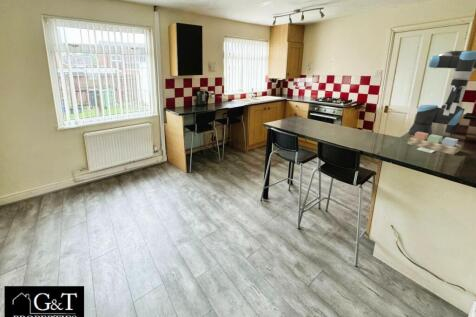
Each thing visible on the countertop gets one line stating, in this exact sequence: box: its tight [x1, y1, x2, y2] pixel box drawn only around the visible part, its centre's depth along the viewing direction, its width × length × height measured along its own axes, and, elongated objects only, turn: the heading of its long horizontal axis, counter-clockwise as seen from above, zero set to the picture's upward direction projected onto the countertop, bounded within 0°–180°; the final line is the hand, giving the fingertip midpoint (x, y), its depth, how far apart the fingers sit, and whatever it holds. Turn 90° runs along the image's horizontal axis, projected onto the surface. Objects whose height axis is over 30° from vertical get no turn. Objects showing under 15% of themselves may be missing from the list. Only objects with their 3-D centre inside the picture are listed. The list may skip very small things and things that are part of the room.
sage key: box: [427, 133, 444, 144], centre depth 164 cm, size 6×6×5 cm
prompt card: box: [416, 147, 435, 154], centre depth 159 cm, size 8×6×1 cm
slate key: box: [442, 136, 459, 147], centre depth 158 cm, size 6×6×5 cm
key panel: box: [406, 135, 462, 156], centre depth 165 cm, size 26×12×4 cm, turn 37°
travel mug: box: [444, 107, 466, 134], centre depth 203 cm, size 8×8×20 cm
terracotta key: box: [413, 132, 429, 141], centre depth 170 cm, size 6×6×5 cm
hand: (448, 114), depth 156 cm, fingers open, 13 cm apart
